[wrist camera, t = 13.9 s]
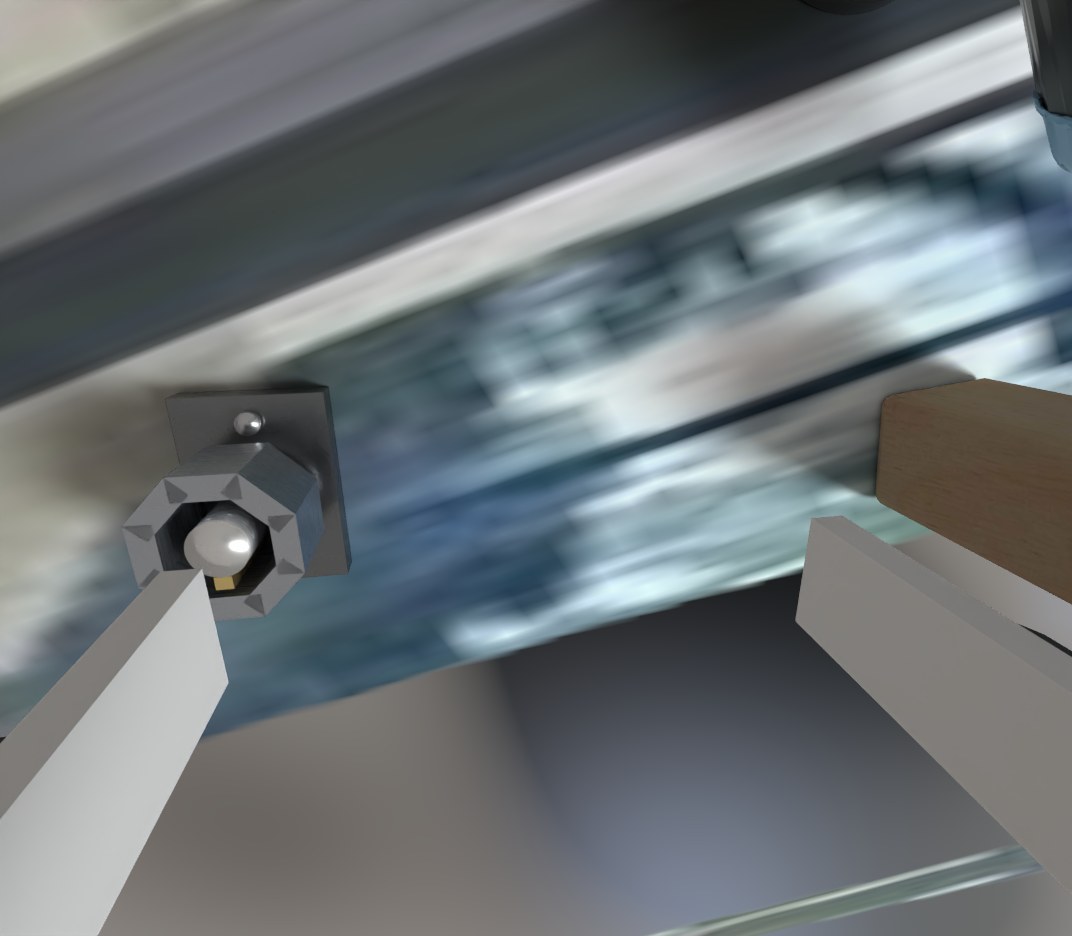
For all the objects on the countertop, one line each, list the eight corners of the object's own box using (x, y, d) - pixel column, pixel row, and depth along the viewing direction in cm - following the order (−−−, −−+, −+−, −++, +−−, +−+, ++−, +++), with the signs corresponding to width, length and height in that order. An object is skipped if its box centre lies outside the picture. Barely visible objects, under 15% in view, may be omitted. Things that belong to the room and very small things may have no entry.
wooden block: (869, 502, 52) (1112, 634, 33) (877, 393, 48) (1153, 471, 29) (970, 482, 53) (1262, 599, 34) (984, 374, 49) (1319, 438, 30)
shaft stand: (178, 393, 40) (85, 435, 29) (328, 386, 41) (290, 425, 31) (217, 572, 44) (149, 664, 34) (351, 561, 46) (325, 645, 35)
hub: (160, 448, 36) (109, 481, 30) (311, 440, 37) (288, 470, 32) (191, 575, 39) (149, 627, 33) (329, 564, 40) (311, 611, 35)
